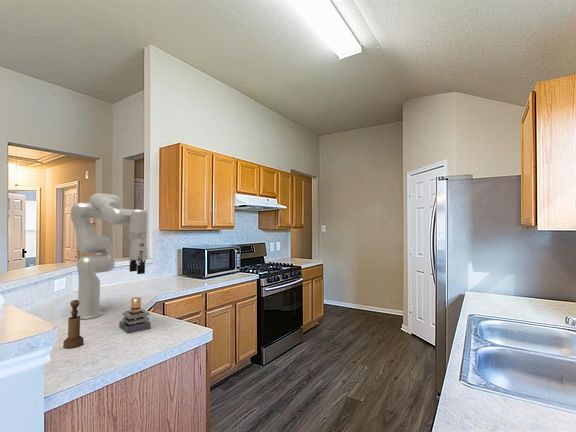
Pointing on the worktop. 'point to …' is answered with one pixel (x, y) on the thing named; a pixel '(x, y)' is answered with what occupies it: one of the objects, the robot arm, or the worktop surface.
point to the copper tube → (135, 307)
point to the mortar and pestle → (73, 328)
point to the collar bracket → (135, 322)
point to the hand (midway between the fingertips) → (136, 272)
